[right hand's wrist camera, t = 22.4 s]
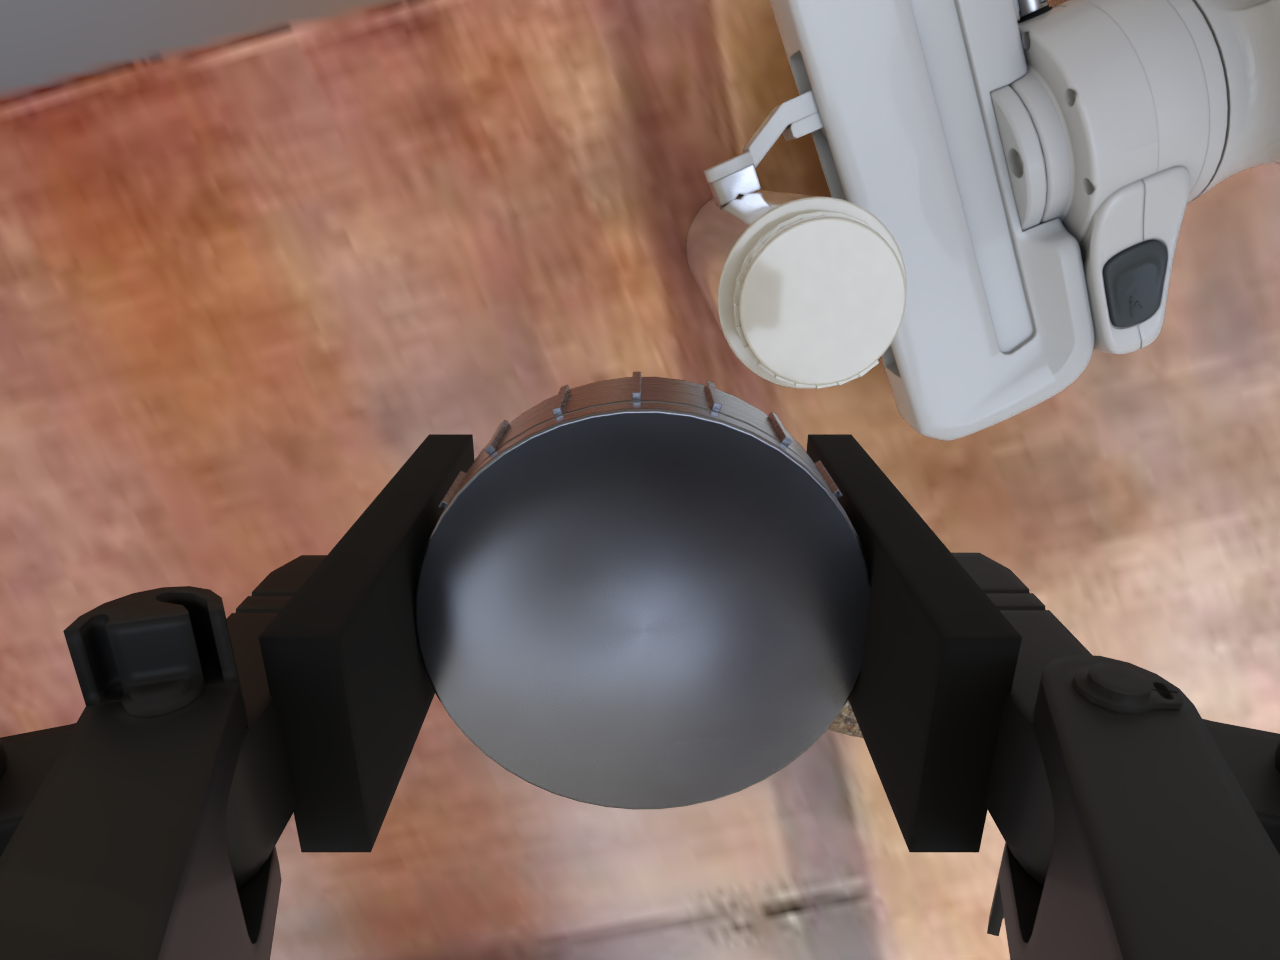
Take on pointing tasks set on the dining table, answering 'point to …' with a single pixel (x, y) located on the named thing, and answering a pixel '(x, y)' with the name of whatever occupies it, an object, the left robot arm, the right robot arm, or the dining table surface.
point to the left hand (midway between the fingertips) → (739, 270)
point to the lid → (643, 595)
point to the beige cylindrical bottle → (799, 284)
